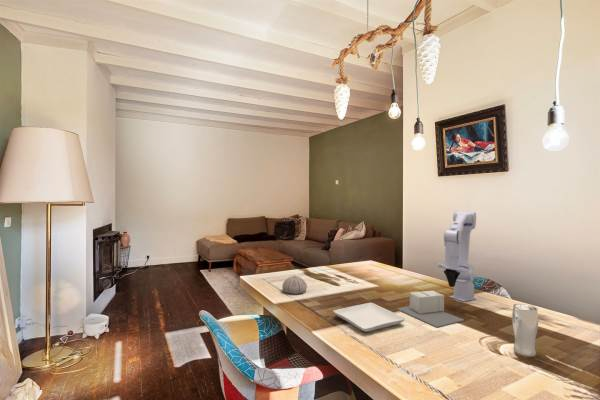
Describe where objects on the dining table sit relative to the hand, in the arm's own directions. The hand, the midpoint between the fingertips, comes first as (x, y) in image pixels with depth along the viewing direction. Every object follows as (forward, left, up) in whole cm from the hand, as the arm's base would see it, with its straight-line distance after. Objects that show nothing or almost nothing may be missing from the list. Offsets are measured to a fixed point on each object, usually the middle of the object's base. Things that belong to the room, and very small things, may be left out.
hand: (451, 286), depth 145 cm
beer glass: (+13, +38, -11) cm, 42 cm away
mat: (+15, +1, -10) cm, 19 cm away
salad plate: (+43, -5, -11) cm, 45 cm away
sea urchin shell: (+53, -54, -11) cm, 77 cm away
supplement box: (+6, -2, -6) cm, 9 cm away
